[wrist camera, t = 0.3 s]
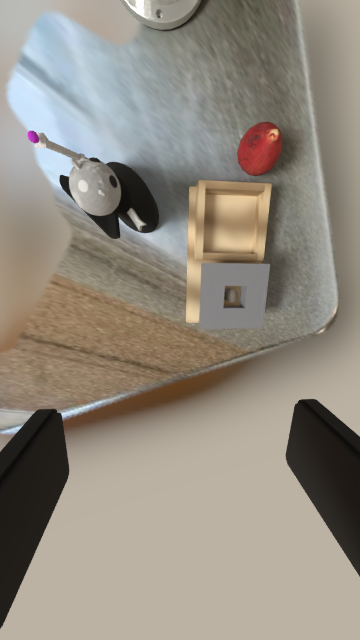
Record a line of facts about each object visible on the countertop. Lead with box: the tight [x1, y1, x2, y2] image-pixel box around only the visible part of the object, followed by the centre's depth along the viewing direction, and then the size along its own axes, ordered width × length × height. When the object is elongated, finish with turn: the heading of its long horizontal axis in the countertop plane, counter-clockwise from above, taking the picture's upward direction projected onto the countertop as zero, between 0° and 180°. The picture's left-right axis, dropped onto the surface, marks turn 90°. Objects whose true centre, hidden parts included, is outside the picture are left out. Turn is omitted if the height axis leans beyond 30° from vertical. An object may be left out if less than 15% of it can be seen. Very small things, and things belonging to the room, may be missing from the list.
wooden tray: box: [186, 180, 272, 323], centre depth 34 cm, size 22×13×6 cm, turn 179°
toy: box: [28, 131, 159, 239], centre depth 26 cm, size 12×7×15 cm, turn 43°
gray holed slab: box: [199, 263, 270, 329], centre depth 32 cm, size 10×10×2 cm
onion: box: [237, 122, 282, 176], centre depth 29 cm, size 6×6×8 cm
